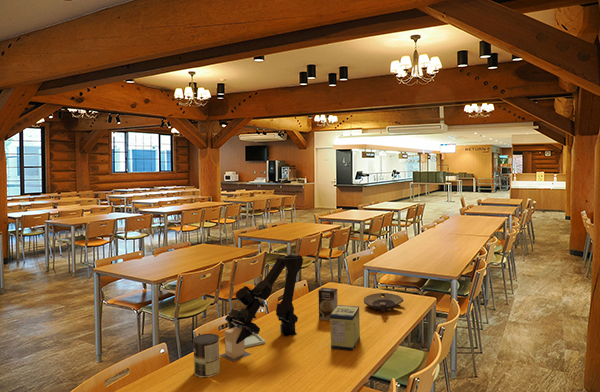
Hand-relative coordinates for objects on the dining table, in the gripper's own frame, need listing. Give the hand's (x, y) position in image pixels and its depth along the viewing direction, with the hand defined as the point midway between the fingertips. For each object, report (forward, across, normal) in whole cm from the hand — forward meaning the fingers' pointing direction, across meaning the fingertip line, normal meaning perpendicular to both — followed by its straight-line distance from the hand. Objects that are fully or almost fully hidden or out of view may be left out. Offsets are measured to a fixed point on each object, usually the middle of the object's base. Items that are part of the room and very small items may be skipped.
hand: (232, 341), depth 191 cm
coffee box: (-40, +1, +50) cm, 64 cm away
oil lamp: (-62, +14, +72) cm, 97 cm away
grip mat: (+4, 0, +6) cm, 7 cm away
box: (-9, -20, +18) cm, 29 cm away
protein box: (-26, +29, +35) cm, 52 cm away
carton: (+4, 0, +5) cm, 6 cm away
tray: (-6, -7, +15) cm, 18 cm away
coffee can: (+16, +4, -6) cm, 18 cm away
